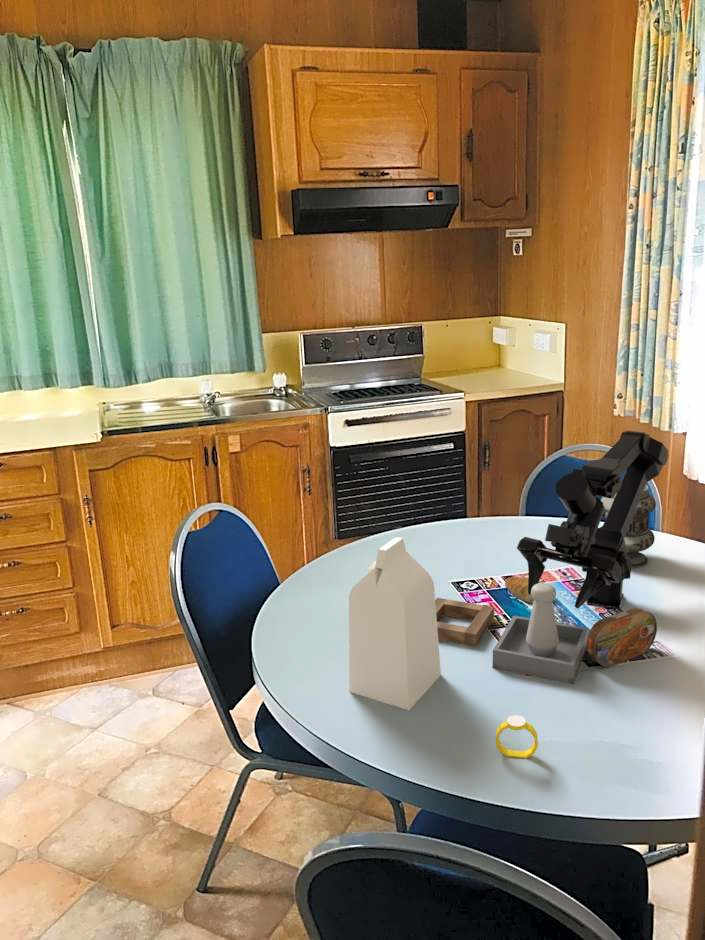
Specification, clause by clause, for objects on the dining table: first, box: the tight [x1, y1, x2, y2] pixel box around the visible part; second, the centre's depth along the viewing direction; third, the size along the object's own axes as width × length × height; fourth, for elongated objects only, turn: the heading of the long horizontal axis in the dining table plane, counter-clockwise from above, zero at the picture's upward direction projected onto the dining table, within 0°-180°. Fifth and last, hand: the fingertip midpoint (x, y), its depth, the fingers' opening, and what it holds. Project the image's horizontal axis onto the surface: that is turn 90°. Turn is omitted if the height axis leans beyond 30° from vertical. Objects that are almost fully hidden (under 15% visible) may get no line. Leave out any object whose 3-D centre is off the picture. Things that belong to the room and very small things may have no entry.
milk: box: [348, 536, 442, 711], centre depth 129 cm, size 12×12×26 cm
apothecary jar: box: [600, 484, 657, 569], centre depth 175 cm, size 12×12×18 cm
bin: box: [492, 615, 590, 685], centre depth 138 cm, size 14×14×4 cm
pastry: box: [504, 576, 545, 603], centre depth 163 cm, size 9×7×4 cm
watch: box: [495, 715, 539, 759], centre depth 112 cm, size 6×3×6 cm, turn 79°
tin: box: [586, 607, 658, 668], centre depth 136 cm, size 15×3×8 cm, turn 117°
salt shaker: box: [526, 582, 559, 658], centre depth 137 cm, size 6×6×13 cm
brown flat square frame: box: [435, 597, 495, 647], centre depth 150 cm, size 12×12×2 cm
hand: (552, 600), depth 139 cm, fingers open, 9 cm apart
